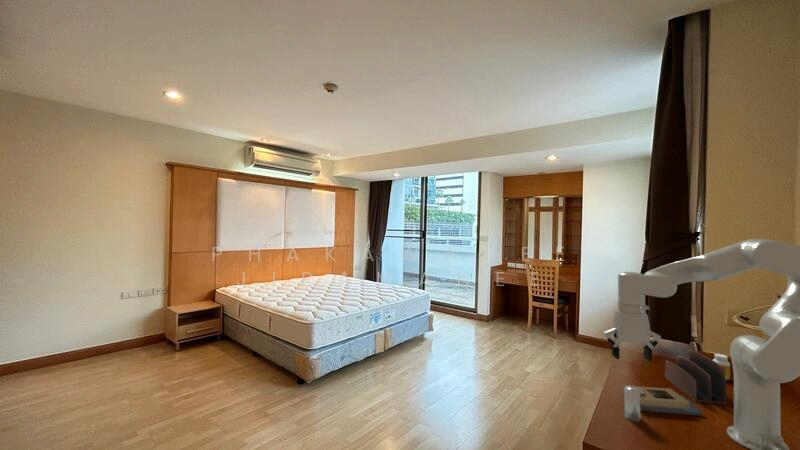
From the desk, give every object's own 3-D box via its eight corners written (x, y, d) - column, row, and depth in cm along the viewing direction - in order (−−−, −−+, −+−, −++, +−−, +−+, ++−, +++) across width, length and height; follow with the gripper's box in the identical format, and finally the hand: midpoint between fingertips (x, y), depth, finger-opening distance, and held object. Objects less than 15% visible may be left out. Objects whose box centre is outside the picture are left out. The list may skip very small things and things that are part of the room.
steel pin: (643, 422, 109) (643, 392, 109) (628, 420, 110) (628, 391, 110) (636, 414, 113) (636, 385, 113) (622, 413, 114) (622, 384, 114)
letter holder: (691, 380, 138) (691, 346, 138) (727, 405, 119) (727, 367, 119) (664, 378, 140) (664, 345, 140) (695, 402, 121) (695, 364, 121)
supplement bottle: (731, 382, 136) (731, 359, 136) (713, 379, 139) (713, 356, 139) (728, 377, 140) (728, 355, 140) (711, 374, 143) (711, 352, 143)
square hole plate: (682, 400, 122) (682, 386, 122) (701, 415, 112) (701, 401, 112) (623, 395, 126) (623, 382, 126) (637, 410, 116) (637, 396, 116)
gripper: (653, 306, 114) (653, 355, 114) (599, 305, 117) (599, 352, 117) (666, 312, 107) (667, 365, 107) (608, 310, 110) (609, 361, 110)
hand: (631, 358), depth 112 cm, fingers open, 9 cm apart
